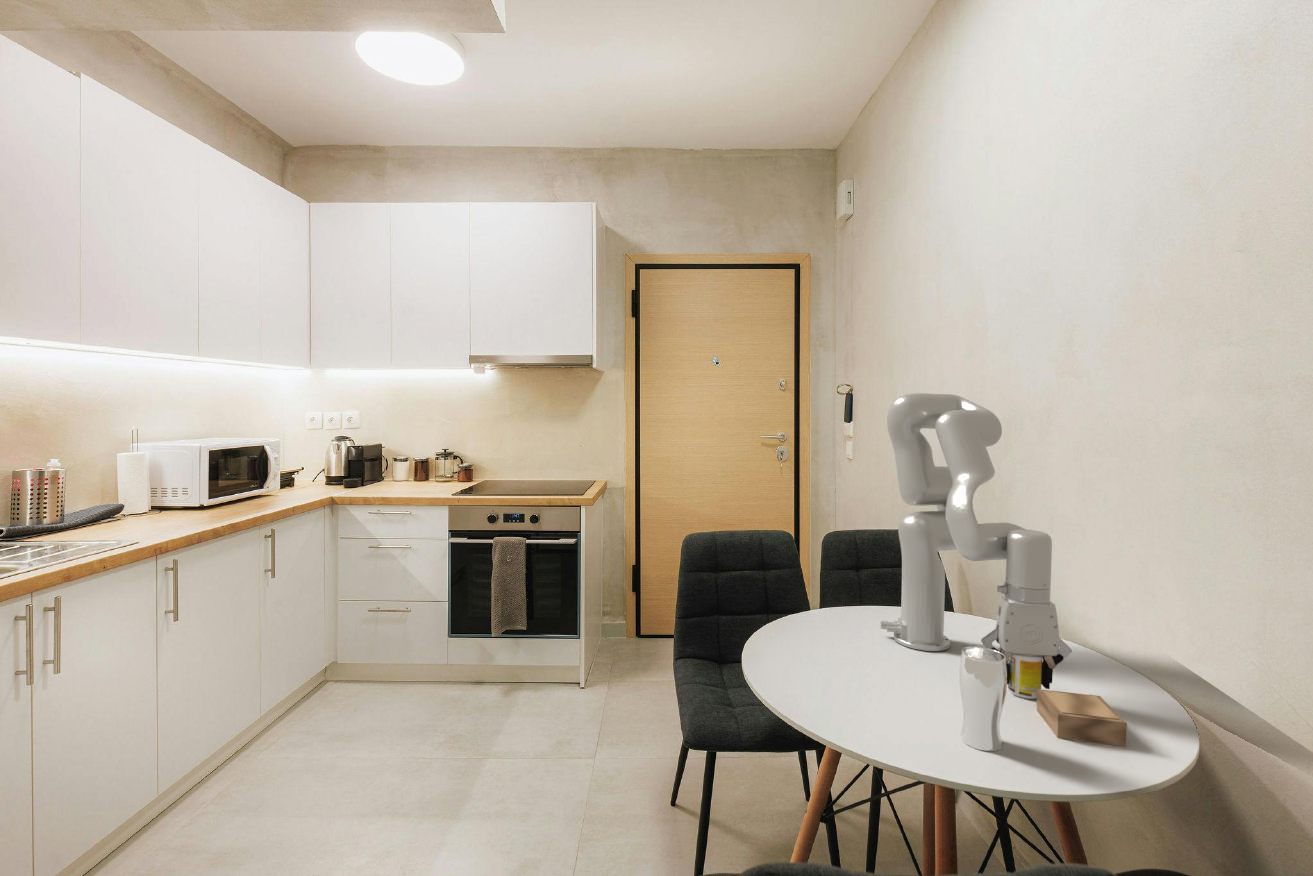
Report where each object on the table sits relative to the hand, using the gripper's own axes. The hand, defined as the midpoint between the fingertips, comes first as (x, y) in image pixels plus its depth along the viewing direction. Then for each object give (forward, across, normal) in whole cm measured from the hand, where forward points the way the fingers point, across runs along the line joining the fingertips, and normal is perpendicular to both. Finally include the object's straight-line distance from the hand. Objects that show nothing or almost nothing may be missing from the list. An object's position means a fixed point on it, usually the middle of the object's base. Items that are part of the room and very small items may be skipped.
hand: (1024, 683), depth 119 cm
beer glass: (+2, -13, -22) cm, 26 cm away
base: (+2, +5, -12) cm, 13 cm away
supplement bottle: (+2, 0, 0) cm, 2 cm away
